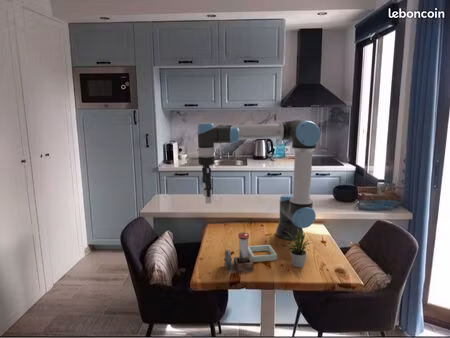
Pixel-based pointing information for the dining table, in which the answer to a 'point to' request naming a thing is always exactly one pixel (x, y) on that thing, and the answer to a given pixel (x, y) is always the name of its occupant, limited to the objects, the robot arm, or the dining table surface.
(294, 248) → the house plant
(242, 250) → the pin
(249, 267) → the block
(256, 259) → the tray
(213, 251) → the dining table surface
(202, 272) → the dining table surface
